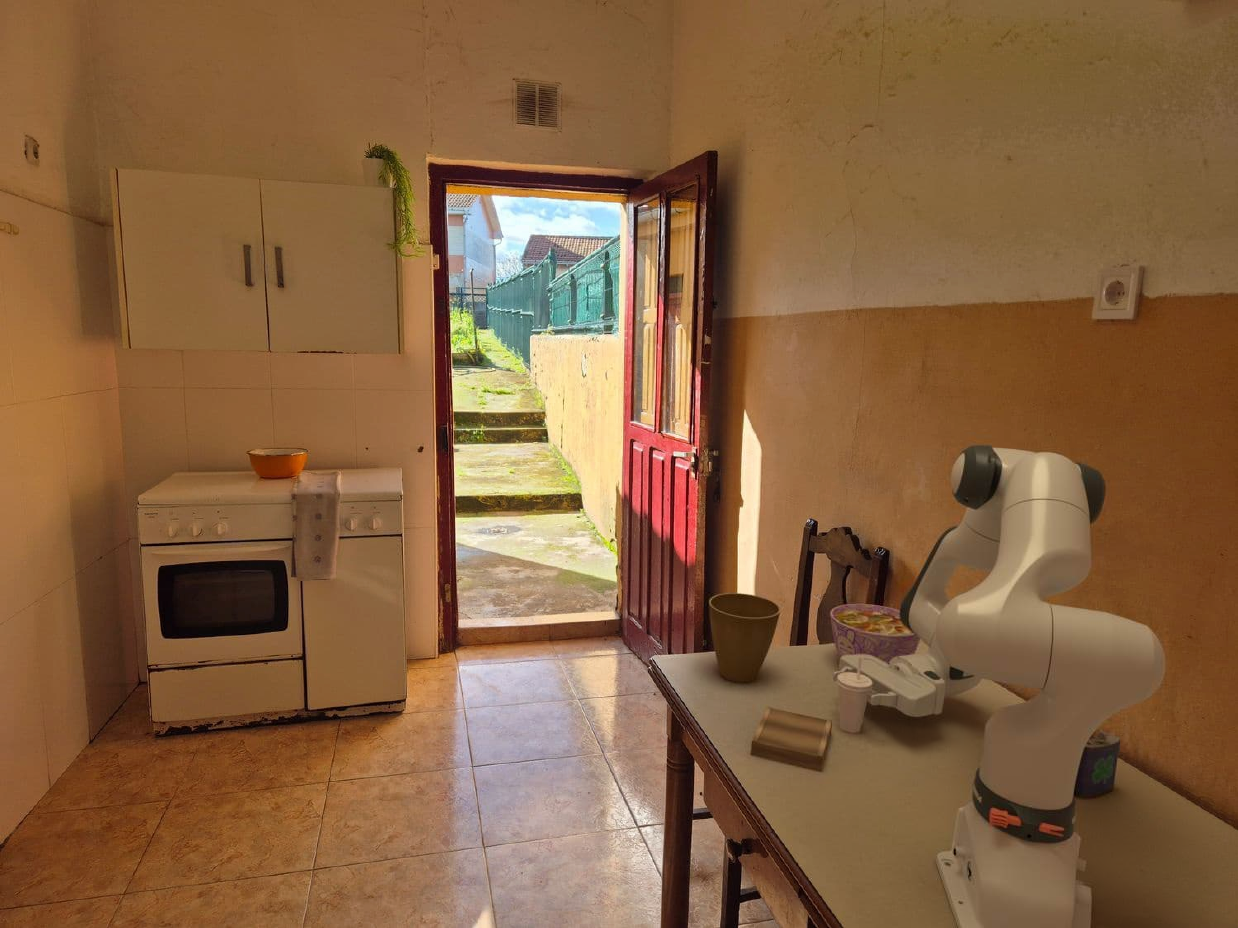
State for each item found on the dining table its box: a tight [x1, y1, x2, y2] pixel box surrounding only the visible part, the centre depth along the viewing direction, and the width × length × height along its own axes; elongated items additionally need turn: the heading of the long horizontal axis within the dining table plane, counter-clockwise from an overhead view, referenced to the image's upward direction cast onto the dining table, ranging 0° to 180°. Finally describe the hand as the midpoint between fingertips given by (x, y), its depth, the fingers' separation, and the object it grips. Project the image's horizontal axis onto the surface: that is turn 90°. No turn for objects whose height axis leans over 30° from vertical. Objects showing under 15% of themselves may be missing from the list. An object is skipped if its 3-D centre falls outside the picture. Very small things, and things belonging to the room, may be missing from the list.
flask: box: [1073, 728, 1121, 800], centre depth 127 cm, size 9×3×11 cm, turn 114°
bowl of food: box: [829, 603, 921, 664], centre depth 172 cm, size 20×20×12 cm
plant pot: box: [708, 592, 781, 684], centre depth 164 cm, size 15×15×16 cm
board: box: [750, 706, 833, 772], centre depth 138 cm, size 14×12×3 cm
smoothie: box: [836, 657, 872, 734], centre depth 144 cm, size 6×6×14 cm
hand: (852, 688), depth 144 cm, fingers open, 8 cm apart
